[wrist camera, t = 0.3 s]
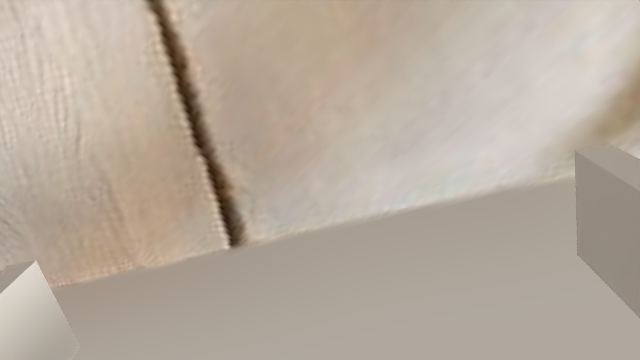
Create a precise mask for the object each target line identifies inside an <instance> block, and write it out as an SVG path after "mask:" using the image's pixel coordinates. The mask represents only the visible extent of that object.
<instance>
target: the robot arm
mask: <svg viewBox="0 0 640 360" xmlns="http://www.w3.org/2000/svg"><path fill="white" fill-rule="evenodd" d="M575 178H576V219H577V255H578V256H579V257H580V258H581V259H582V260H583V261H584V262H585V263H586V264H587V265H588V266H589V267H590V268H591V269H592V270H593V271H594V272H595V273H596V274H597V275H598V276H599V277H600V278H601V279H602V280H603V281H604V282H605V283H606V284H607V285H608V286H609V287H610V288H611V289H612V290H613V291H614V292H615V293H616V294H617V295H618V296H619V297H620V298H621V299H622V300H623V301H624V302H625V303H626V304H627V305H628V306H629V307H630V308H631V309H632V311H634V313H635V314H636V315H637V316H638V317H639V318H640V159H638V158H636V157H634V156H632V155H630V154H628V153H627V152H625V151H623V150H621V149H619V148H617V147H615V146H613V145H611V144H606V145H601V146H596V147H591V148H586V149H582V150H577V151H575ZM79 349H80V345H79V343H78V341H77V339H76V337H75V336H74V334H73V332H72V330H71V328H70V326H69V324H68V322H67V320H66V318H65V316H64V314H63V312H62V310H61V308H60V307H59V305H58V303H57V301H56V299H55V297H54V295H53V293H52V291H51V289H50V287H49V285H48V283H47V281H46V279H45V277H44V275H43V273H42V272H41V270H40V268H39V266H38V264H37V262H36V261H32V262H27V263H22V264H17V265H12V266H7V267H6V268H5V269H4V270H3V271H2V272H0V360H72V359H73V357H74V356H75V354H76V353H77V352H78V350H79Z"/></svg>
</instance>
